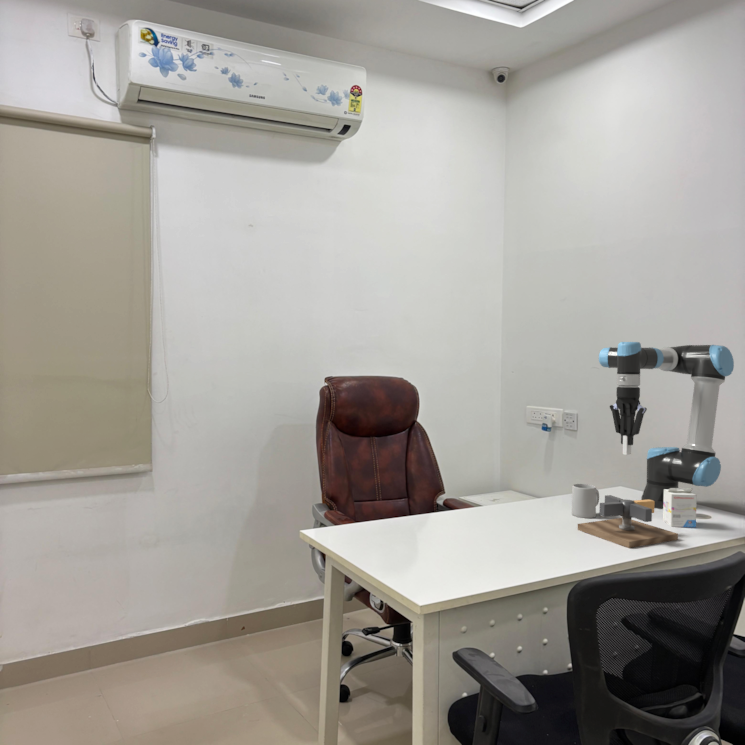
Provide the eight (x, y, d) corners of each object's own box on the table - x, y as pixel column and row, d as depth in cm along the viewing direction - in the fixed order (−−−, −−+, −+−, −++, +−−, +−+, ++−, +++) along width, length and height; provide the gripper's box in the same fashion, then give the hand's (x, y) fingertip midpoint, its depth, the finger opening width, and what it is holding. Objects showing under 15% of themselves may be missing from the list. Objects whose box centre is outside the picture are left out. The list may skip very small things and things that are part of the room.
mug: (584, 519, 231) (585, 489, 231) (566, 514, 238) (567, 485, 238) (607, 515, 237) (607, 486, 237) (588, 510, 244) (589, 482, 244)
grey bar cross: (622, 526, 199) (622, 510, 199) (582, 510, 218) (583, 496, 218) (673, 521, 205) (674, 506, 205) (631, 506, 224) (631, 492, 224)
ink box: (686, 521, 230) (688, 484, 229) (696, 528, 222) (697, 489, 221) (662, 520, 231) (663, 484, 230) (670, 527, 222) (671, 489, 222)
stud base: (624, 522, 227) (624, 506, 227) (677, 539, 207) (678, 521, 207) (577, 529, 217) (577, 512, 217) (629, 548, 197) (629, 528, 197)
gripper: (605, 385, 223) (603, 452, 224) (639, 387, 212) (638, 457, 213) (617, 385, 227) (616, 450, 228) (652, 387, 217) (650, 455, 218)
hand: (626, 454), depth 221 cm, fingers closed
